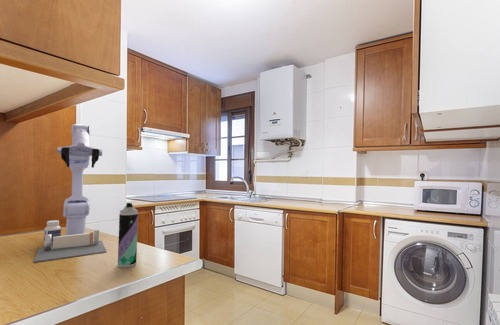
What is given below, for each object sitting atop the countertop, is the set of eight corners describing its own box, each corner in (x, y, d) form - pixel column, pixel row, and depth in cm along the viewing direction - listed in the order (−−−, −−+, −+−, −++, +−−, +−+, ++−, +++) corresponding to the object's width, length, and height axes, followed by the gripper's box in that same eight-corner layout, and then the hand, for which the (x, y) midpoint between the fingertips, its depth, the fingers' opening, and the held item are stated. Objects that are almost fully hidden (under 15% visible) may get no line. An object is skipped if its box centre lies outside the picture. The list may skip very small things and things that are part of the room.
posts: (44, 250, 97) (45, 234, 97) (98, 244, 107) (98, 229, 107) (44, 252, 96) (44, 235, 96) (98, 245, 106) (99, 230, 106)
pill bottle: (63, 244, 106) (64, 220, 107) (52, 247, 101) (53, 222, 102) (51, 243, 107) (52, 219, 107) (39, 247, 102) (41, 222, 102)
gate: (52, 248, 97) (53, 236, 97) (52, 247, 98) (53, 235, 99) (93, 243, 105) (93, 232, 105) (92, 242, 106) (93, 231, 106)
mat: (38, 248, 99) (38, 247, 99) (101, 241, 111) (101, 240, 111) (33, 262, 85) (33, 261, 85) (106, 252, 97) (106, 251, 97)
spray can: (113, 267, 82) (116, 203, 83) (124, 261, 87) (126, 201, 88) (129, 268, 81) (132, 204, 82) (139, 262, 86) (141, 202, 87)
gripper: (58, 133, 99) (56, 155, 90) (102, 137, 107) (104, 157, 98) (58, 148, 102) (56, 171, 94) (100, 150, 111) (102, 171, 102)
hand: (80, 165), depth 96 cm, fingers open, 7 cm apart
